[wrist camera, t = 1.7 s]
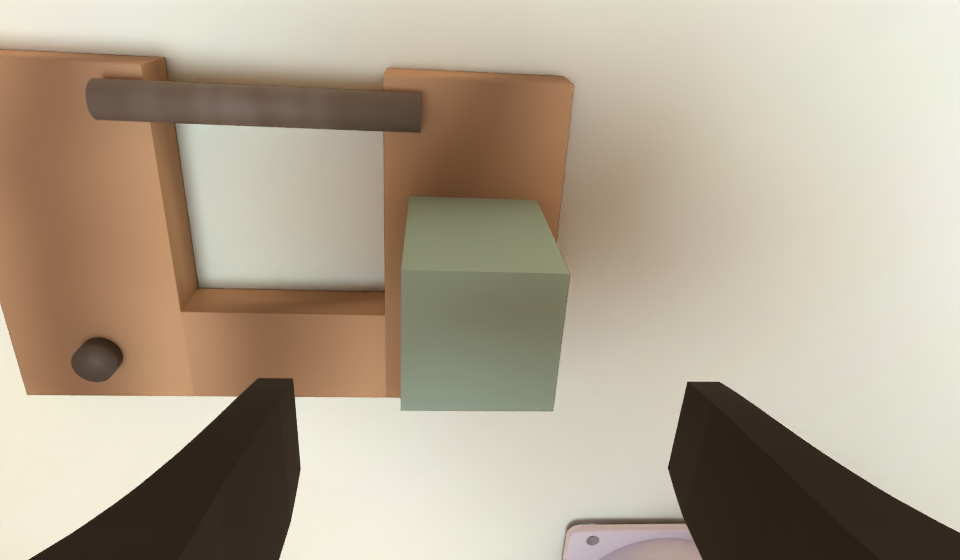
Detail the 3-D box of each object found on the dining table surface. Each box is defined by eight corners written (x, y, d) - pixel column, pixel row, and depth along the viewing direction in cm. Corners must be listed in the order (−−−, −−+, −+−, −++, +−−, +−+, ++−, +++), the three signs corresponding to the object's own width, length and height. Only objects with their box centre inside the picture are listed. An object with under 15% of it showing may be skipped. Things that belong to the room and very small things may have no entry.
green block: (536, 200, 18) (570, 273, 14) (526, 312, 20) (553, 411, 15) (409, 196, 18) (400, 269, 14) (408, 310, 20) (400, 410, 15)
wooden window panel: (563, 76, 19) (581, 91, 16) (532, 371, 23) (543, 417, 20) (-30, 48, 17) (-103, 59, 15) (54, 366, 21) (8, 414, 19)
